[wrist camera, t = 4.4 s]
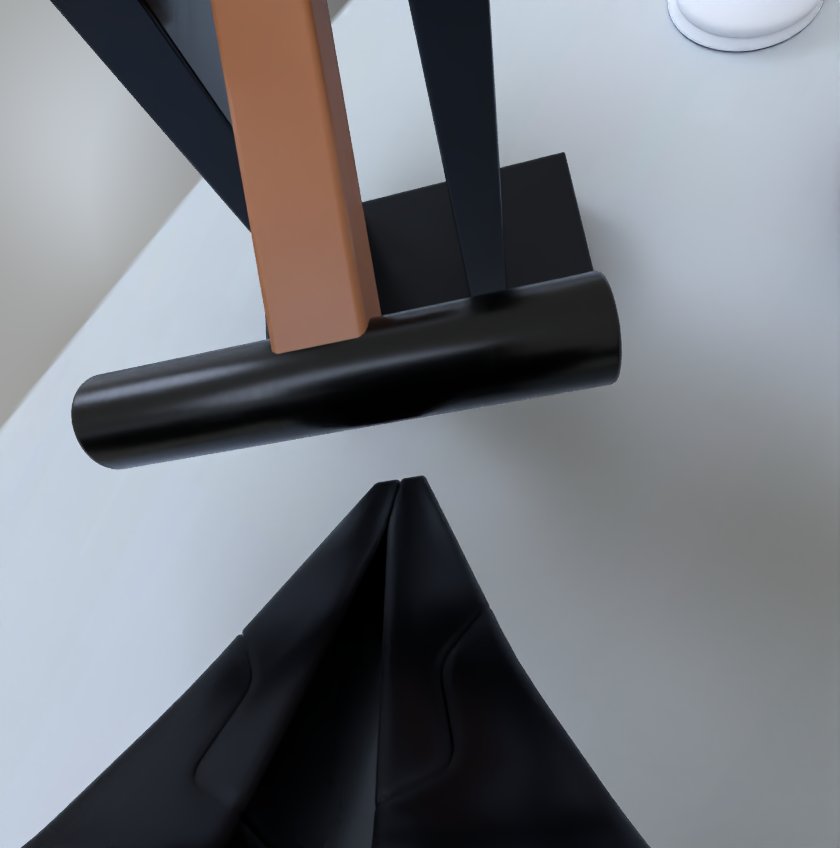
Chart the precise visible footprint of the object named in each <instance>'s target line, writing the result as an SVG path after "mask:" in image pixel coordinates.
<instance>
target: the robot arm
mask: <svg viewBox="0 0 840 848" xmlns="http://www.w3.org/2000/svg"><path fill="white" fill-rule="evenodd" d="M242 634H243V635H238V636H237V637H236V638H235V639H234V640H233V641H232V643H231V644H230V645H229V646H228V647H227V648H226V649H225V650H224V651H223V652H222V654H221V655H220V656H219V657H218V658H217V659H216V660H215V661H214V662H213V663H212V664H211V665H210V666H209V668H208V669H207V670H206V671H205V672H204V673H203V674H202V675H201V676H200V677H199V678H198V679H197V680H196V681H195V682H194V683H193V685H192V686H191V687H190V688H189V689H188V690H187V691H186V692H185V693H184V694H183V695H182V696H181V697H180V698H179V699H178V700H177V701H176V702H175V703H174V704H173V705H172V706H171V707H170V708H169V709H168V710H167V711H166V712H165V713H164V714H163V715H162V716H161V717H160V718H159V719H158V720H157V721H155V722H154V723H153V724H152V725H151V726H150V727H149V728H148V729H147V730H146V731H145V732H144V733H143V734H142V735H141V736H140V737H139V738H138V739H137V740H136V741H135V742H134V743H133V744H132V745H131V746H130V747H129V748H128V749H126V750H125V751H124V752H123V753H122V754H121V755H120V756H119V757H118V758H117V759H116V760H115V761H114V762H113V763H112V764H111V765H110V766H109V767H108V768H107V769H106V770H105V771H104V772H103V773H101V774H100V775H99V776H98V777H97V778H96V779H95V780H94V781H93V782H92V783H91V784H90V785H89V786H88V787H87V788H86V789H85V790H84V791H83V792H82V793H81V794H80V795H79V796H78V797H77V798H75V799H74V800H73V801H72V802H71V803H70V804H69V805H68V806H67V807H66V808H65V809H64V810H63V811H62V812H61V813H60V814H59V815H58V816H57V817H56V818H55V819H54V820H52V821H51V822H50V823H49V824H48V825H47V826H46V827H45V828H44V829H43V830H41V831H40V832H39V833H38V834H37V835H36V836H35V837H34V838H32V839H31V840H30V841H29V842H27V843H26V844H25V845H24V846H22V847H21V848H651V847H650V846H649V845H648V844H647V843H646V841H645V840H644V839H643V838H642V836H641V835H640V834H639V833H638V831H637V830H636V829H635V827H634V826H633V825H632V823H631V822H630V821H629V819H628V818H627V817H626V816H625V814H624V813H623V812H622V810H621V809H620V807H619V806H618V805H617V803H616V802H615V801H614V799H613V798H612V797H611V795H610V794H609V792H608V791H607V790H606V788H605V787H604V785H603V784H602V782H601V781H600V780H599V778H598V777H597V775H596V774H595V772H594V771H593V770H592V768H591V767H590V765H589V764H588V762H587V761H586V760H585V758H584V757H583V755H582V754H581V752H580V751H579V749H578V748H577V747H576V745H575V744H574V742H573V741H572V739H571V738H570V737H569V735H568V734H567V732H566V731H565V729H564V728H563V727H562V725H561V724H560V722H559V721H558V719H557V718H556V717H555V715H554V714H553V712H552V711H551V709H550V708H549V707H548V705H547V704H546V702H545V701H544V699H543V698H542V696H541V695H540V693H539V692H538V690H537V689H536V687H535V686H534V684H533V683H532V681H531V679H530V678H529V676H528V675H527V673H526V672H525V670H524V669H523V667H522V665H521V664H520V662H519V661H518V659H517V657H516V655H515V653H514V652H513V650H512V648H511V646H510V644H509V643H508V641H507V639H506V637H505V635H504V633H503V632H502V630H501V628H500V626H499V624H498V622H497V620H496V617H495V615H494V613H493V611H492V610H491V609H490V607H489V604H488V602H487V600H486V598H485V596H484V594H483V592H482V590H481V588H480V586H479V584H478V582H477V580H476V578H475V576H474V574H473V572H472V570H471V568H470V566H469V564H468V562H467V560H466V558H465V556H464V554H463V552H462V550H461V548H460V546H459V544H458V541H457V539H456V537H455V535H454V533H453V531H452V529H451V527H450V525H449V523H448V521H447V519H446V517H445V515H444V513H443V511H442V509H441V507H440V505H439V503H438V501H437V499H436V497H435V495H434V493H433V491H432V489H431V487H430V485H429V483H428V481H427V479H426V477H424V476H416V477H410V478H404V479H402V480H401V482H400V481H399V480H390V481H384V482H378V483H376V484H375V485H374V486H373V487H372V488H371V489H370V490H369V491H368V492H367V493H366V495H365V496H364V497H363V498H362V499H361V500H360V501H359V502H358V503H357V505H356V506H355V507H354V508H353V509H352V510H351V511H350V512H349V513H348V514H347V516H346V517H345V518H344V519H343V520H342V521H341V522H340V523H339V524H338V526H337V527H336V528H335V529H334V530H333V531H332V532H331V533H330V534H329V535H328V537H327V538H326V539H325V540H324V541H323V542H322V543H321V544H320V545H319V547H318V548H317V549H316V550H315V551H314V552H313V553H312V554H311V555H310V557H309V558H308V559H307V560H306V561H305V562H304V563H303V564H302V565H301V566H300V568H299V569H298V570H297V571H296V572H295V573H294V574H293V575H292V576H291V578H290V579H289V580H288V581H287V582H286V583H285V584H284V585H283V586H282V587H281V589H280V590H279V591H278V592H277V593H276V594H275V595H274V596H273V597H272V599H271V600H270V601H269V602H268V603H267V604H266V605H265V606H264V607H263V609H262V610H261V611H260V612H259V613H258V614H257V615H256V616H255V617H254V618H253V620H252V621H251V622H250V623H249V624H248V625H247V626H246V627H245V628H244V630H243V632H242Z"/></svg>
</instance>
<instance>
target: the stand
mask: <svg viewBox="0 0 840 848" xmlns="http://www.w3.org/2000/svg"><path fill="white" fill-rule="evenodd" d="M50 1H51V2H52V3H53V4H54V5H55V7H56V8H57V9H58V10H59V11H60V12H61V14H62V15H63V16H64V17H65V18H66V19H67V21H68V22H69V23H70V24H71V25H72V26H73V27H74V29H75V30H76V31H77V32H78V33H79V34H80V35H81V37H82V38H83V39H84V40H85V41H86V42H87V44H88V45H89V46H90V47H91V48H92V49H93V51H94V52H95V53H96V54H97V55H98V56H99V57H100V59H101V60H102V61H103V62H104V63H105V64H106V66H107V67H108V68H109V69H110V70H111V71H112V73H113V74H114V75H115V76H116V77H117V78H118V80H119V81H120V82H121V83H122V84H123V85H124V86H125V88H127V90H128V91H129V92H130V93H131V95H133V97H134V98H135V99H136V100H137V101H138V103H139V104H140V105H141V106H142V107H143V108H144V110H145V111H146V112H147V113H148V114H149V115H150V117H151V118H152V119H153V120H154V121H155V122H156V123H157V125H158V126H159V127H160V128H161V129H162V130H163V132H164V133H165V134H166V135H167V136H168V137H169V139H170V140H171V141H172V142H173V143H174V144H175V146H176V147H177V148H178V149H179V150H180V151H181V152H182V154H183V155H184V156H185V157H186V158H187V159H188V160H189V162H190V163H191V164H192V165H193V166H194V167H195V169H196V170H197V171H198V172H199V173H200V174H201V176H202V177H203V178H204V179H205V180H206V181H207V183H208V184H209V185H210V186H211V187H212V188H213V189H214V191H215V192H216V193H217V194H218V195H219V196H220V198H221V199H222V200H223V201H224V202H225V203H226V205H227V206H228V207H229V208H230V209H231V210H232V211H233V213H234V214H235V215H236V216H237V217H238V218H239V220H240V221H241V222H242V223H243V224H244V225H245V227H246V228H247V229H248V230H249V231H250V232H251V229H250V223H249V217H248V212H247V206H246V200H245V194H244V189H243V183H242V177H241V172H240V166H239V160H238V155H237V149H236V143H235V137H234V132H233V126H232V120H231V115H230V109H229V103H228V97H227V92H226V86H225V80H224V75H223V69H222V63H221V58H220V52H219V46H218V40H217V35H216V29H215V23H214V18H213V12H212V6H211V0H50ZM408 1H409V6H410V11H411V15H412V20H413V25H414V30H415V34H416V39H417V44H418V49H419V54H420V58H421V63H422V68H423V73H424V77H425V82H426V87H427V92H428V97H429V101H430V106H431V111H432V116H433V121H434V125H435V130H436V135H437V140H438V144H439V149H440V154H441V159H442V164H443V168H444V173H445V178H446V182H442V183H438V184H434V185H430V186H426V187H422V188H418V189H414V190H410V191H406V192H402V193H398V194H394V195H390V196H386V197H382V198H378V199H374V200H370V201H366V202H362V206H363V212H364V218H365V224H366V230H367V235H368V241H369V247H370V253H371V258H372V264H373V270H374V276H375V282H376V287H377V293H378V299H379V305H380V310H381V316H382V315H386V314H391V313H396V312H401V311H405V310H410V309H415V308H420V307H425V306H429V305H434V304H439V303H444V302H448V301H453V300H458V299H463V298H467V297H472V296H477V295H482V294H487V293H491V292H496V291H501V290H506V289H510V288H515V287H520V286H525V285H529V284H534V283H539V282H544V281H549V280H553V279H558V278H563V277H568V276H572V275H577V274H582V273H587V272H591V271H594V270H593V266H592V262H591V258H590V254H589V250H588V246H587V242H586V237H585V233H584V229H583V225H582V221H581V217H580V213H579V209H578V204H577V200H576V196H575V192H574V188H573V184H572V180H571V176H570V171H569V167H568V163H567V159H566V155H565V153H564V152H562V153H558V154H554V155H550V156H546V157H542V158H538V159H534V160H530V161H526V162H522V163H518V164H514V165H510V166H506V167H502V168H500V164H499V148H498V131H497V115H496V98H495V82H494V65H493V49H492V32H491V16H490V0H408ZM265 318H266V314H265ZM267 339H270V337H269V331H268V326H267V320H266V340H267Z"/></svg>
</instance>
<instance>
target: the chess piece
mask: <svg viewBox="0 0 840 848" xmlns="http://www.w3.org/2000/svg"><path fill="white" fill-rule="evenodd" d="M823 2H824V0H668V10H669V14H670V16H671V19H672V21H673V23H674V24H675V26H676V27H677V28H678V29H679V31H680V32H681V33H682V34H684V35H685V36H686V37H687V38H689V39H691V40H692V41H694V42H696V43H698V44H700V45H703V46H705V47H709V48H712V49H717V50H723V51H750V50H756V49H761V48H765V47H769V46H772V45H775V44H778V43H780V42H782V41H784V40H786V39H788V38H790V37H792V36H794V35H795V34H797V33H798V32H800V31H801V30H802V29H803V28H805V27H806V26H807V25H808V24H809V23H810V22H811V21H812V20H813V19H814V17H815V16H816V15H817V13H818V12H819V10H820V8H821V6H822V4H823Z"/></svg>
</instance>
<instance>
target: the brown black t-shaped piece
mask: <svg viewBox="0 0 840 848" xmlns="http://www.w3.org/2000/svg"><path fill="white" fill-rule="evenodd" d="M211 6H212V12H213V18H214V23H215V29H216V35H217V40H218V46H219V52H220V58H221V63H222V69H223V75H224V80H225V86H226V92H227V97H228V103H229V109H230V115H231V120H232V126H233V132H234V137H235V143H236V149H237V155H238V160H239V166H240V172H241V177H242V183H243V189H244V194H245V200H246V206H247V212H248V217H249V223H250V229H251V234H252V240H253V246H254V252H255V257H256V263H257V269H258V274H259V280H260V286H261V291H262V297H263V303H264V309H265V314H266V320H267V326H268V331H269V337H270V339H267V340H262V341H258V342H253V343H248V344H243V345H238V346H234V347H229V348H224V349H219V350H215V351H210V352H205V353H200V354H196V355H191V356H186V357H181V358H176V359H172V360H167V361H162V362H157V363H153V364H148V365H143V366H138V367H134V368H129V369H124V370H119V371H114V372H110V373H105V374H100V375H96V376H93V377H91V378H89V379H88V380H86V381H85V382H84V383H83V384H82V385H81V386H80V387H79V389H78V390H77V392H76V394H75V396H74V399H73V403H72V410H71V418H72V425H73V429H74V432H75V435H76V438H77V440H78V442H79V444H80V445H81V447H82V449H83V450H84V451H85V453H86V454H87V455H88V456H89V457H90V458H91V459H92V460H94V461H95V462H96V463H98V464H100V465H102V466H104V467H107V468H111V469H126V468H132V467H138V466H144V465H149V464H155V463H161V462H167V461H173V460H178V459H184V458H190V457H196V456H201V455H207V454H213V453H219V452H225V451H230V450H236V449H242V448H248V447H253V446H259V445H265V444H271V443H277V442H282V441H288V440H294V439H300V438H305V437H311V436H317V435H323V434H329V433H334V432H340V431H346V430H352V429H357V428H363V427H369V426H375V425H381V424H386V423H392V422H398V421H404V420H409V419H415V418H421V417H427V416H433V415H438V414H444V413H450V412H456V411H461V410H467V409H473V408H479V407H485V406H490V405H496V404H502V403H508V402H513V401H519V400H525V399H531V398H537V397H542V396H548V395H554V394H560V393H565V392H571V391H577V390H583V389H589V388H594V387H600V386H606V385H611V384H613V383H615V382H616V381H617V379H618V377H619V374H620V368H621V360H622V343H621V331H620V323H619V317H618V312H617V307H616V303H615V299H614V296H613V293H612V290H611V287H610V285H609V283H608V281H607V279H606V277H605V276H604V275H603V273H601V272H599V271H591V272H587V273H582V274H577V275H572V276H568V277H563V278H558V279H553V280H549V281H544V282H539V283H534V284H529V285H525V286H520V287H515V288H510V289H506V290H501V291H496V292H491V293H487V294H482V295H477V296H472V297H467V298H463V299H458V300H453V301H448V302H444V303H439V304H434V305H429V306H425V307H420V308H415V309H410V310H405V311H401V312H396V313H391V314H386V315H382V316H381V310H380V305H379V299H378V293H377V287H376V282H375V276H374V270H373V264H372V258H371V253H370V247H369V241H368V235H367V230H366V224H365V218H364V212H363V206H362V201H361V195H360V189H359V183H358V178H357V172H356V166H355V160H354V154H353V149H352V143H351V137H350V131H349V126H348V120H347V114H346V108H345V102H344V97H343V91H342V85H341V79H340V74H339V68H338V62H337V56H336V50H335V45H334V39H333V33H332V27H331V21H330V16H329V10H328V4H327V0H211Z"/></svg>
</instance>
